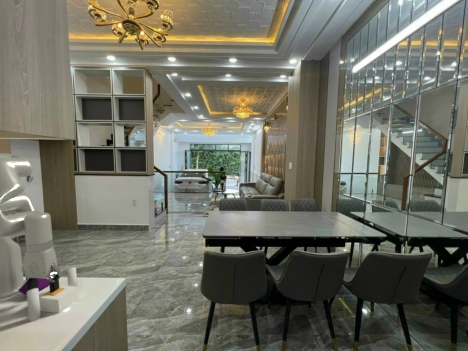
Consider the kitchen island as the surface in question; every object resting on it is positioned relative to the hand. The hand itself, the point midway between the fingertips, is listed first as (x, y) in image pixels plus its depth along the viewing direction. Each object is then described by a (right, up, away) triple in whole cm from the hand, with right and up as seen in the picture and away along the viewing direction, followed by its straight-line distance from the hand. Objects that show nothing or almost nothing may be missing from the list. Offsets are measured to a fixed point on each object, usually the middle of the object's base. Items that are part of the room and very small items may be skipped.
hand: (43, 289), depth 83 cm
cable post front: (+4, -6, -8) cm, 10 cm away
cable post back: (+6, -5, +7) cm, 10 cm away
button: (+5, -4, 0) cm, 6 cm away
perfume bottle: (-9, -5, +7) cm, 13 cm away
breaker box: (+5, -5, 0) cm, 7 cm away
